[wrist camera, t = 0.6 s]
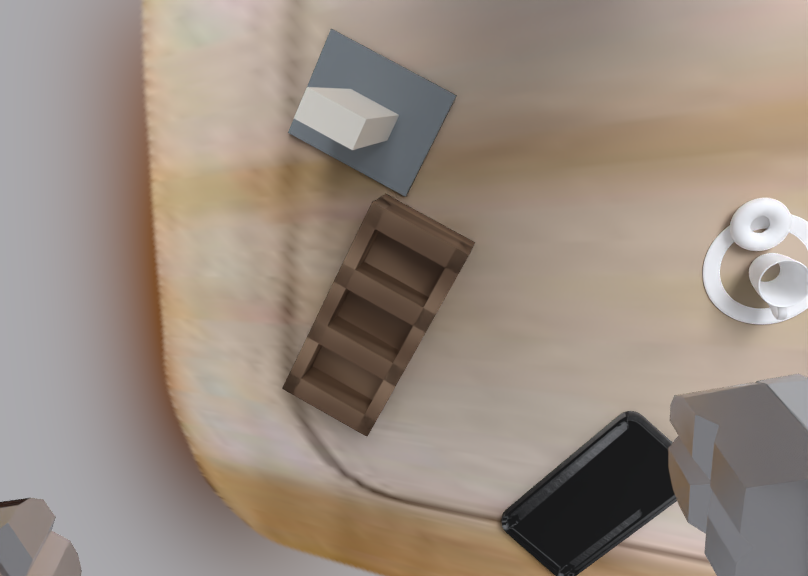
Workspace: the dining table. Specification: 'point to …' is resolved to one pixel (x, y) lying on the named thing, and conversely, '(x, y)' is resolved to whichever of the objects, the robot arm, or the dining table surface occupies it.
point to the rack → (376, 312)
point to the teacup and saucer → (761, 263)
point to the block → (345, 116)
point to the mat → (393, 90)
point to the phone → (595, 497)
